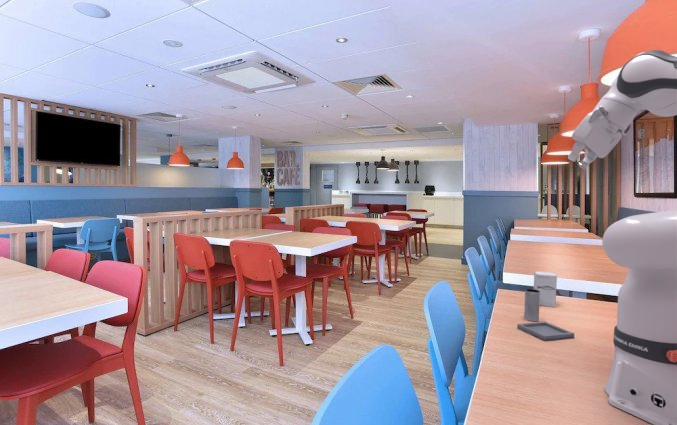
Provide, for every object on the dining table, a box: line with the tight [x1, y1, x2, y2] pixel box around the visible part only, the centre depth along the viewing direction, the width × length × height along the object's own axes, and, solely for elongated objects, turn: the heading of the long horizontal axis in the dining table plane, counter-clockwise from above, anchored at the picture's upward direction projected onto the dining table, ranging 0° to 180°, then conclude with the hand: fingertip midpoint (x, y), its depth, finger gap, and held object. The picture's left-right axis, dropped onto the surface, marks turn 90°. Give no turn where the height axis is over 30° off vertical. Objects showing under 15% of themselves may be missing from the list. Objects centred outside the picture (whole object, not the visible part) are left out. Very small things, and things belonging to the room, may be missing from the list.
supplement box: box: [533, 270, 558, 308], centre depth 148 cm, size 7×7×13 cm
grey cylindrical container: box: [523, 288, 540, 323], centre depth 129 cm, size 4×4×10 cm
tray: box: [516, 321, 575, 342], centre depth 116 cm, size 11×11×2 cm
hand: (576, 164), depth 100 cm, fingers open, 8 cm apart
